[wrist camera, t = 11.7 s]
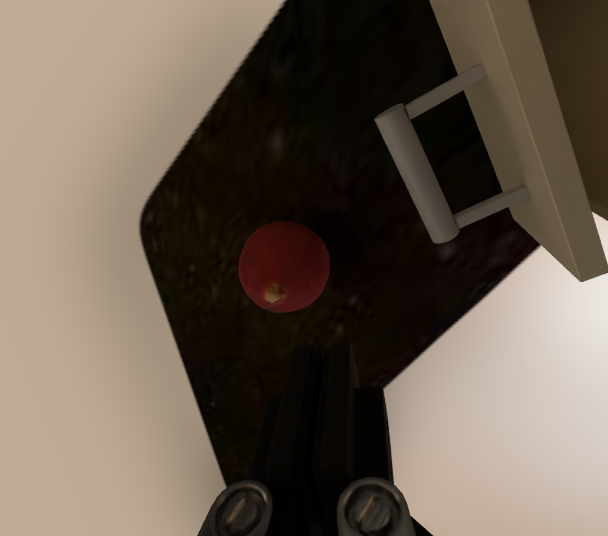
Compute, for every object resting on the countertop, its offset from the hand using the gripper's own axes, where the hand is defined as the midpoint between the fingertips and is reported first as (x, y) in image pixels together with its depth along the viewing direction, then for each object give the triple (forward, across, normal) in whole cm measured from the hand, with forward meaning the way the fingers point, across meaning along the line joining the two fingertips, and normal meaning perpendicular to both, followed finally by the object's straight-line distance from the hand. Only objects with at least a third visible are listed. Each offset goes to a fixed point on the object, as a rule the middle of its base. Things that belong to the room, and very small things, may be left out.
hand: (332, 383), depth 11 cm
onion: (+17, +4, +2) cm, 18 cm away
